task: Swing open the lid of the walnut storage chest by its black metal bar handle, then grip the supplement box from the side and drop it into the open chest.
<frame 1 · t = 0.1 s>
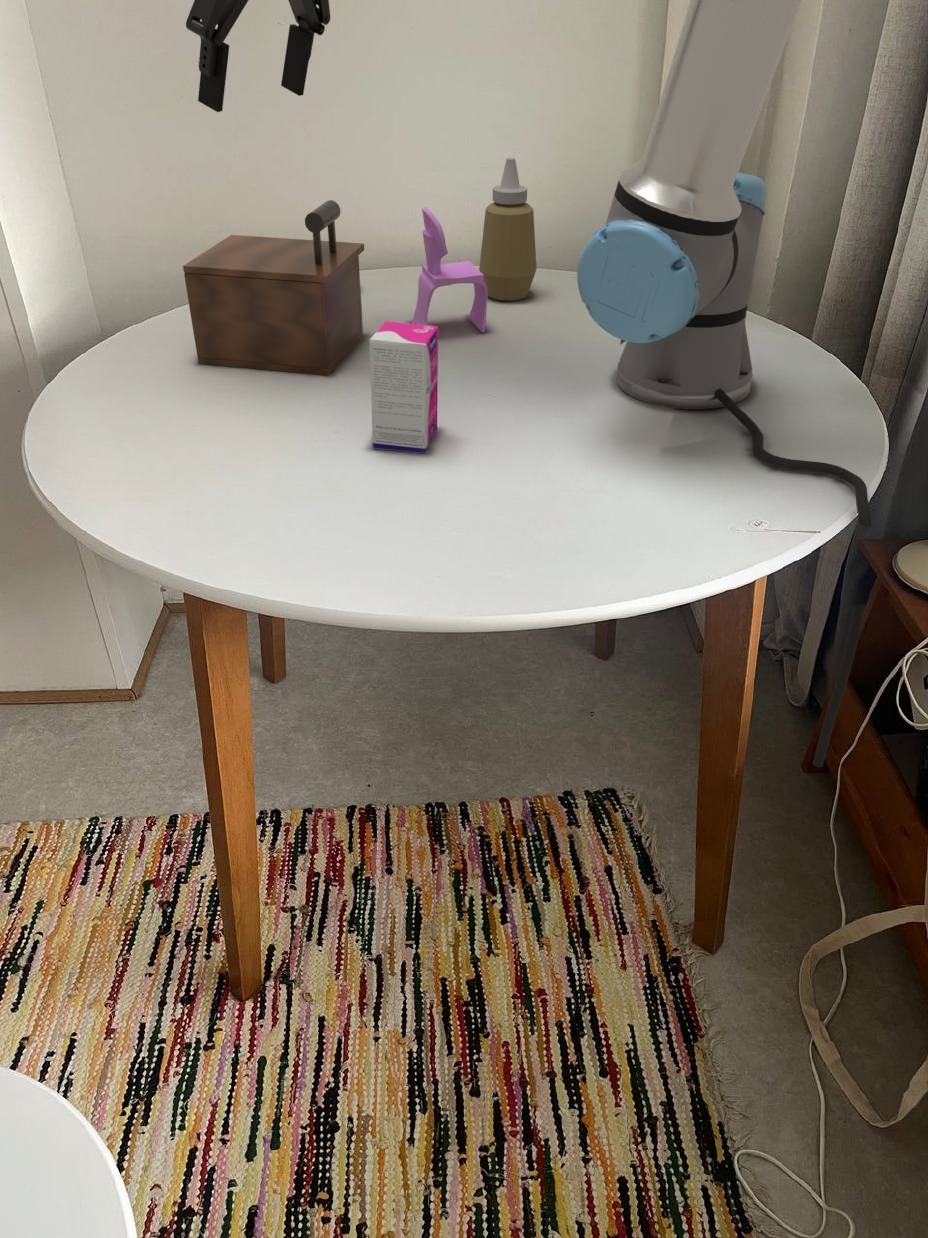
hand: (252, 98, 110), 28 cm above the table, tool tilted 20°, fingers open, 13 cm apart
squeeze bottle: (507, 296, 142), on the table
lid: (274, 232, 116), point 14 cm above the table, hinge at 0.0°
chest: (283, 349, 125), on the table
supplement box: (406, 441, 104), on the table
toy chair: (449, 328, 131), on the table
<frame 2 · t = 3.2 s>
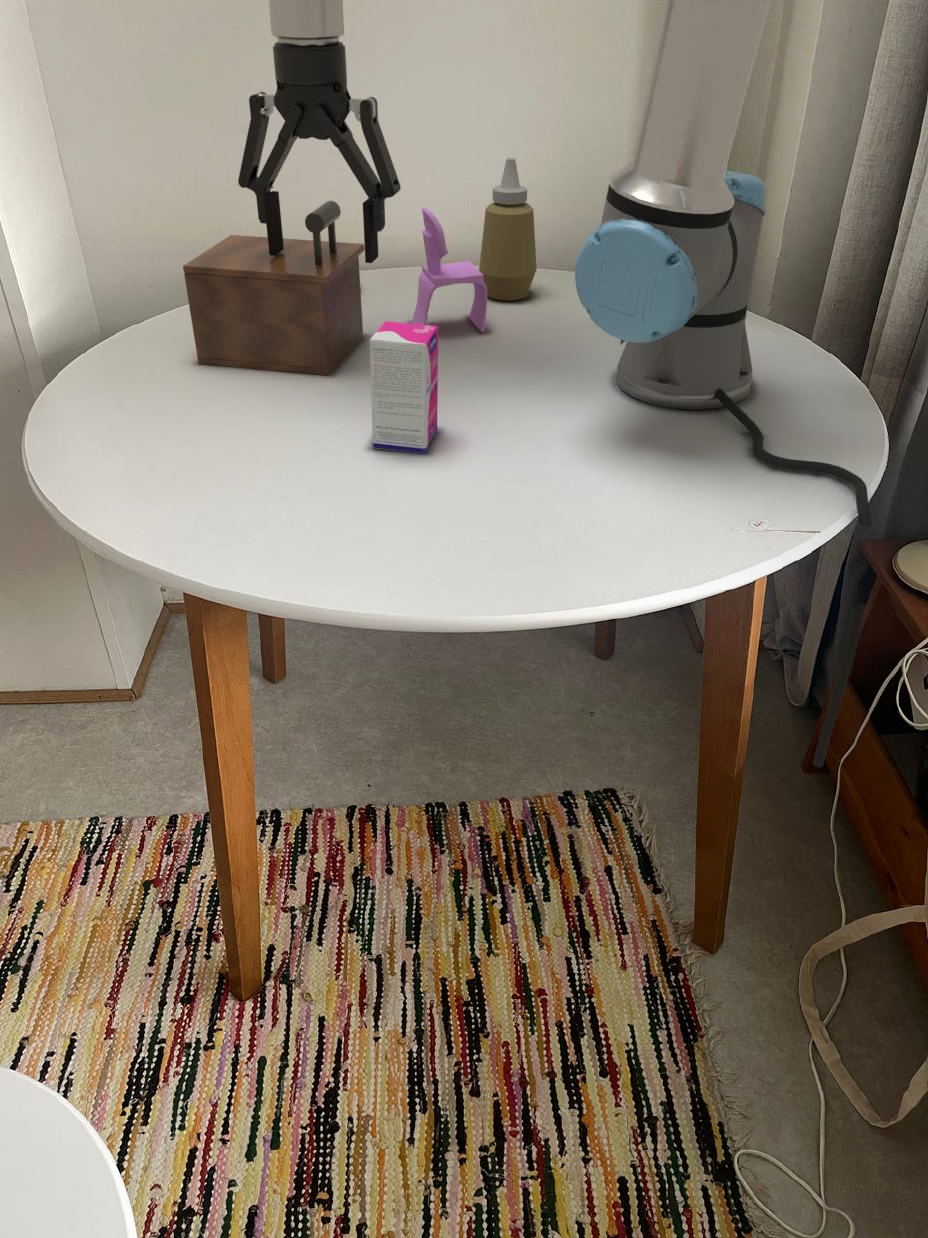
hand: (324, 255, 117), 12 cm above the table, tool pointing down, fingers open, 11 cm apart
lid: (274, 232, 116), point 14 cm above the table, hinge at -0.2°, touching chest, gripper
everything else where it was.
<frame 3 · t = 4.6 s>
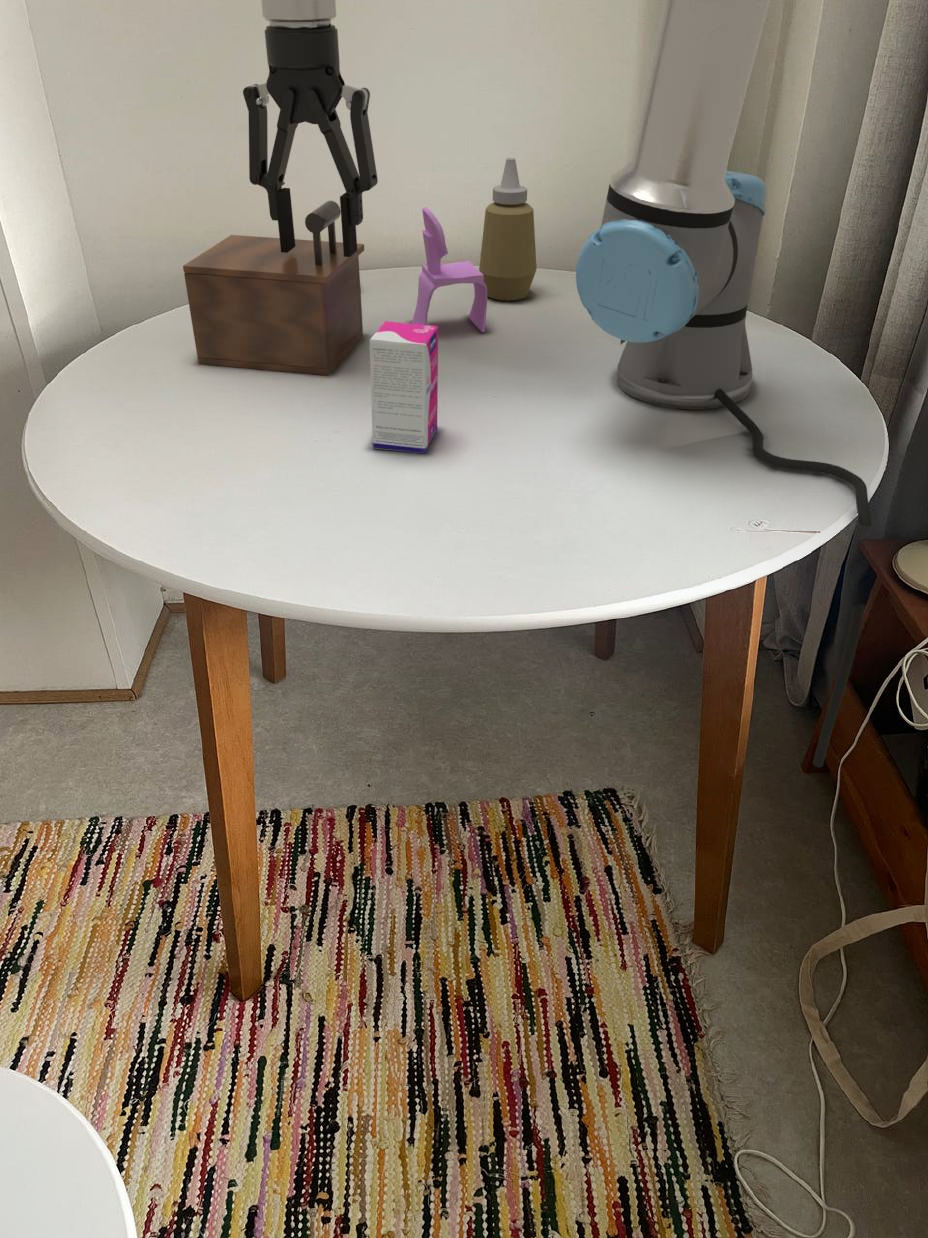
hand: (319, 251, 116), 12 cm above the table, tool pointing down, fingers open, 7 cm apart
lid: (274, 232, 116), point 14 cm above the table, hinge at -0.2°, touching chest
everything else where it was.
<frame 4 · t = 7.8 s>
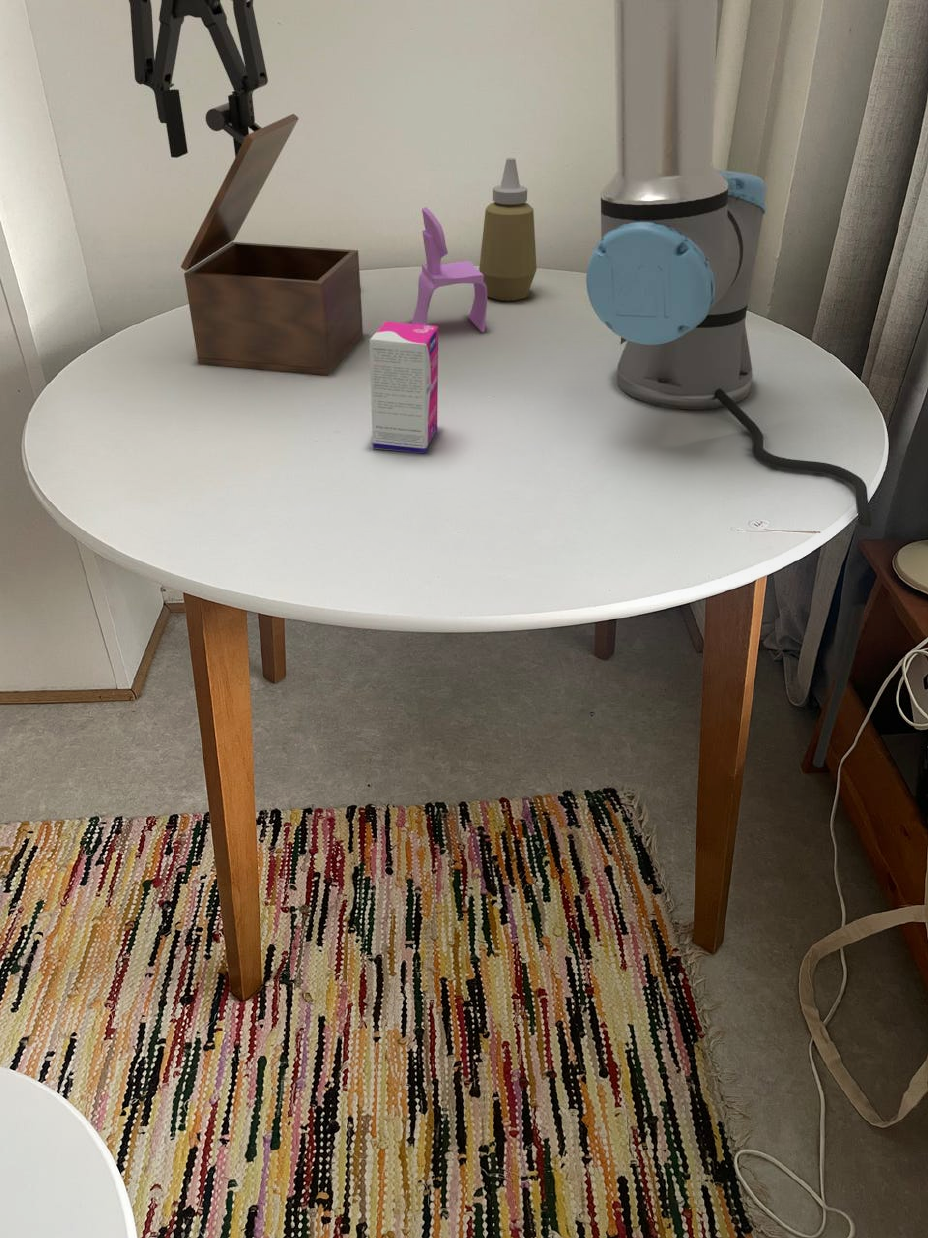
hand: (211, 156, 113), 22 cm above the table, tool pointing down, fingers open, 7 cm apart
lid: (219, 175, 114), point 20 cm above the table, hinge at 54.8°, touching gripper
everything else where it was.
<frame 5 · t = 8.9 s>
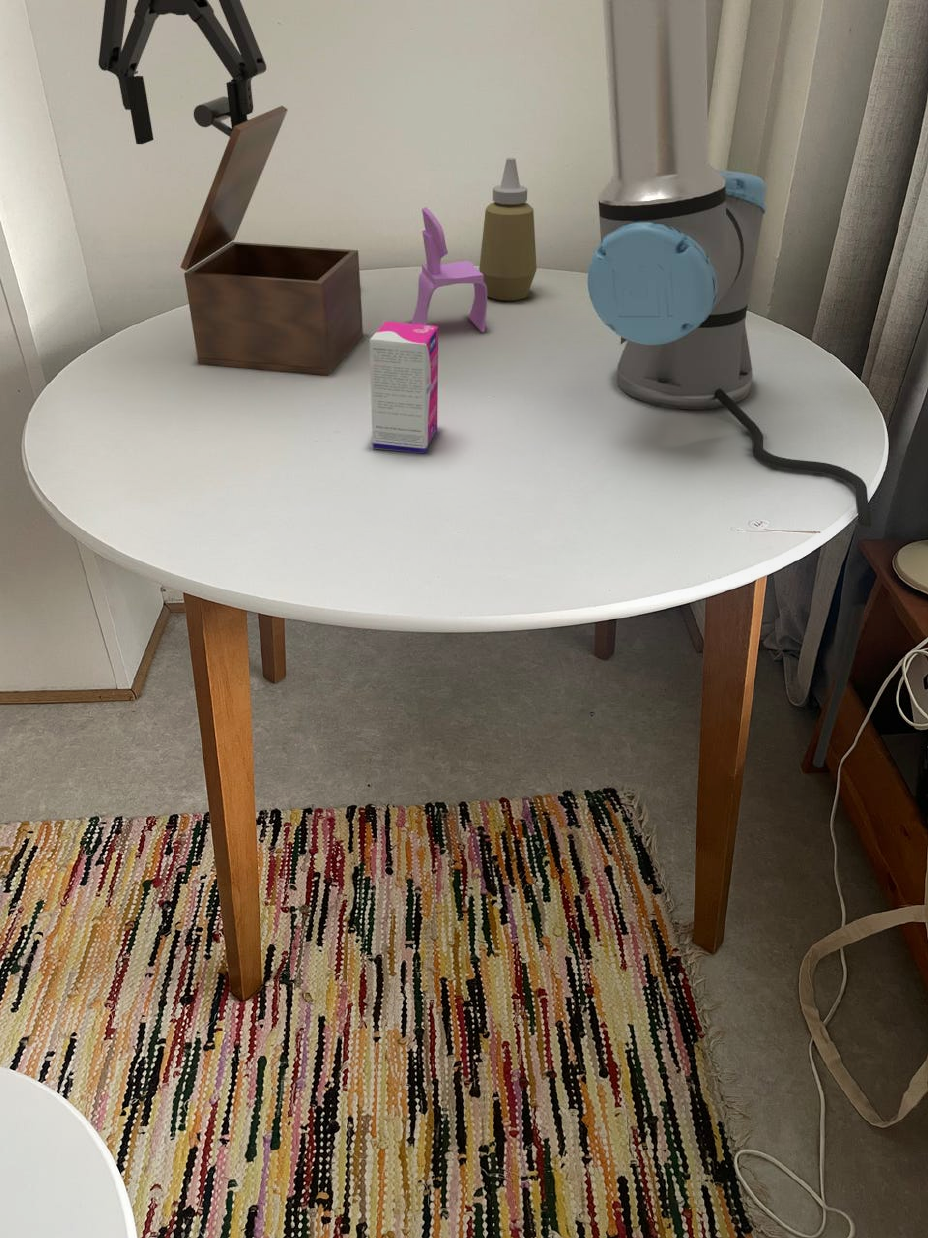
hand: (193, 144, 113), 23 cm above the table, tool pointing down, fingers open, 11 cm apart
lid: (212, 173, 114), point 20 cm above the table, hinge at 59.7°
everything else where it was.
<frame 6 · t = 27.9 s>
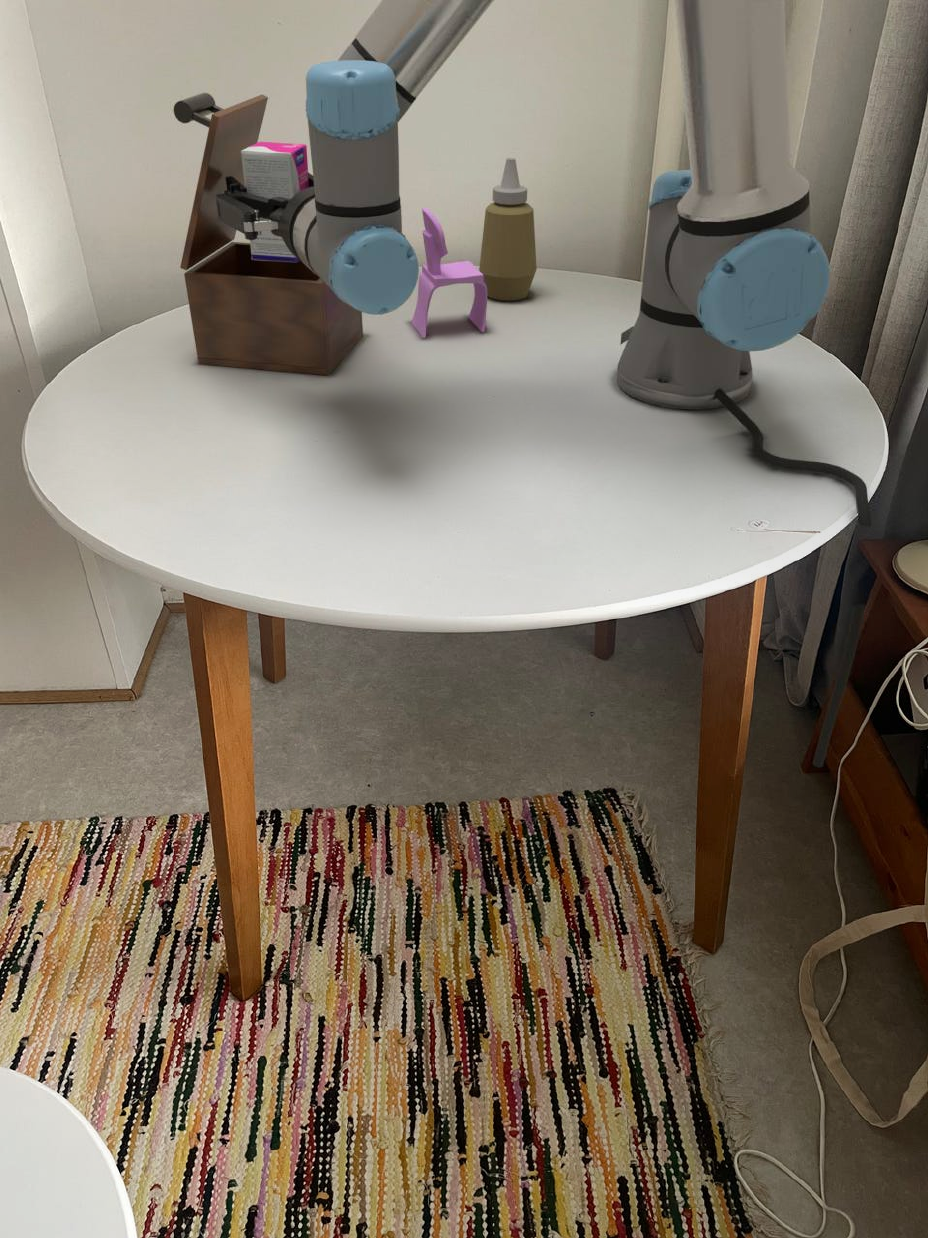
hand: (266, 185, 115), 19 cm above the table, tool horizontal, fingers closed on supplement box, 8 cm apart
lid: (201, 171, 114), point 20 cm above the table, hinge at 68.2°, touching gripper
supplement box: (284, 256, 115), point 12 cm above the table, touching gripper
everything else where it was.
when the fingers open (15 cm above the table, at t = 30.3 s): supplement box drops 7 cm, resting on chest.
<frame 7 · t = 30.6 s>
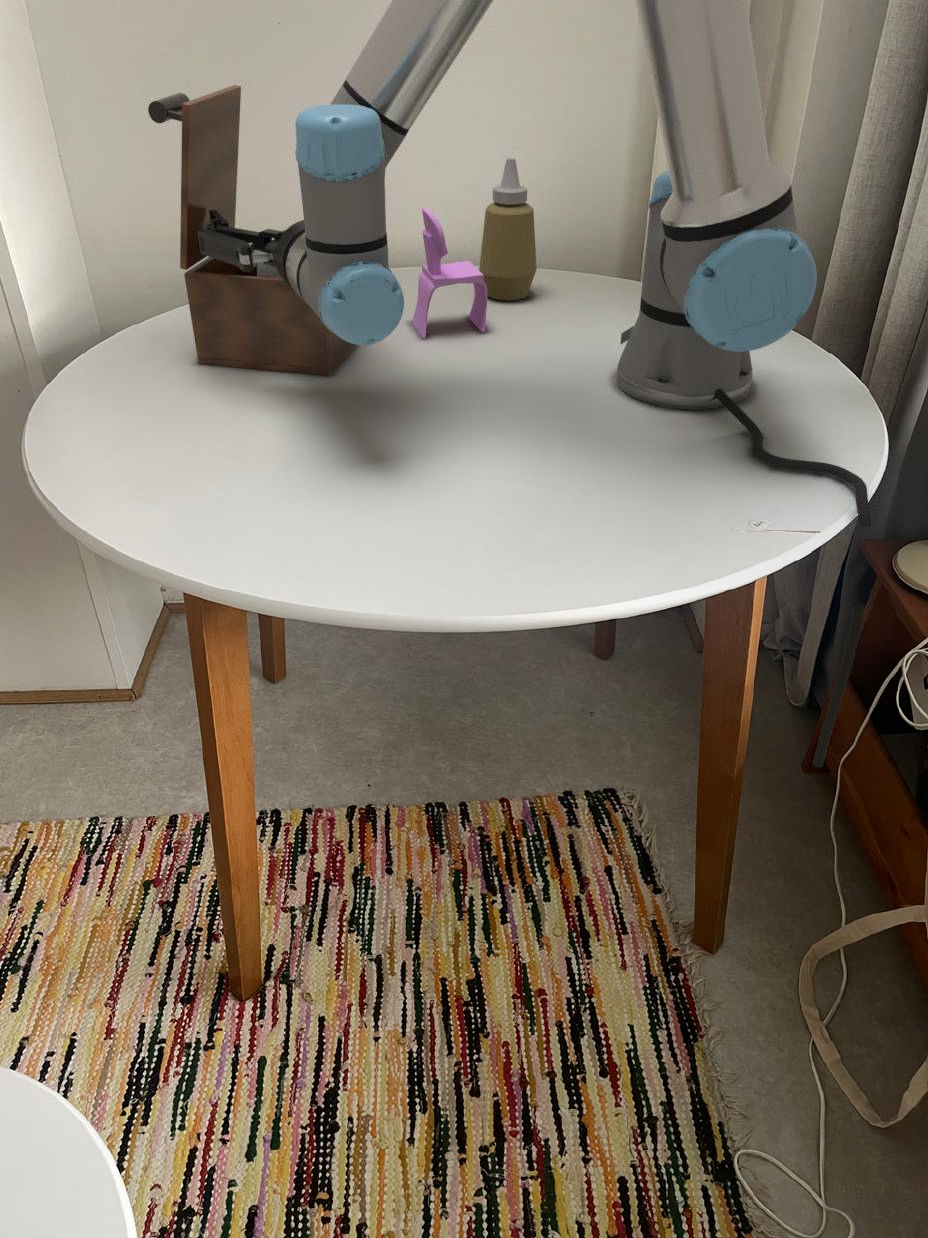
hand: (266, 216, 118), 15 cm above the table, tool horizontal, fingers open, 12 cm apart
lid: (187, 170, 115), point 20 cm above the table, hinge at 79.2°, touching gripper
supplement box: (286, 344, 124), point 1 cm above the table, touching chest
everything else where it was.
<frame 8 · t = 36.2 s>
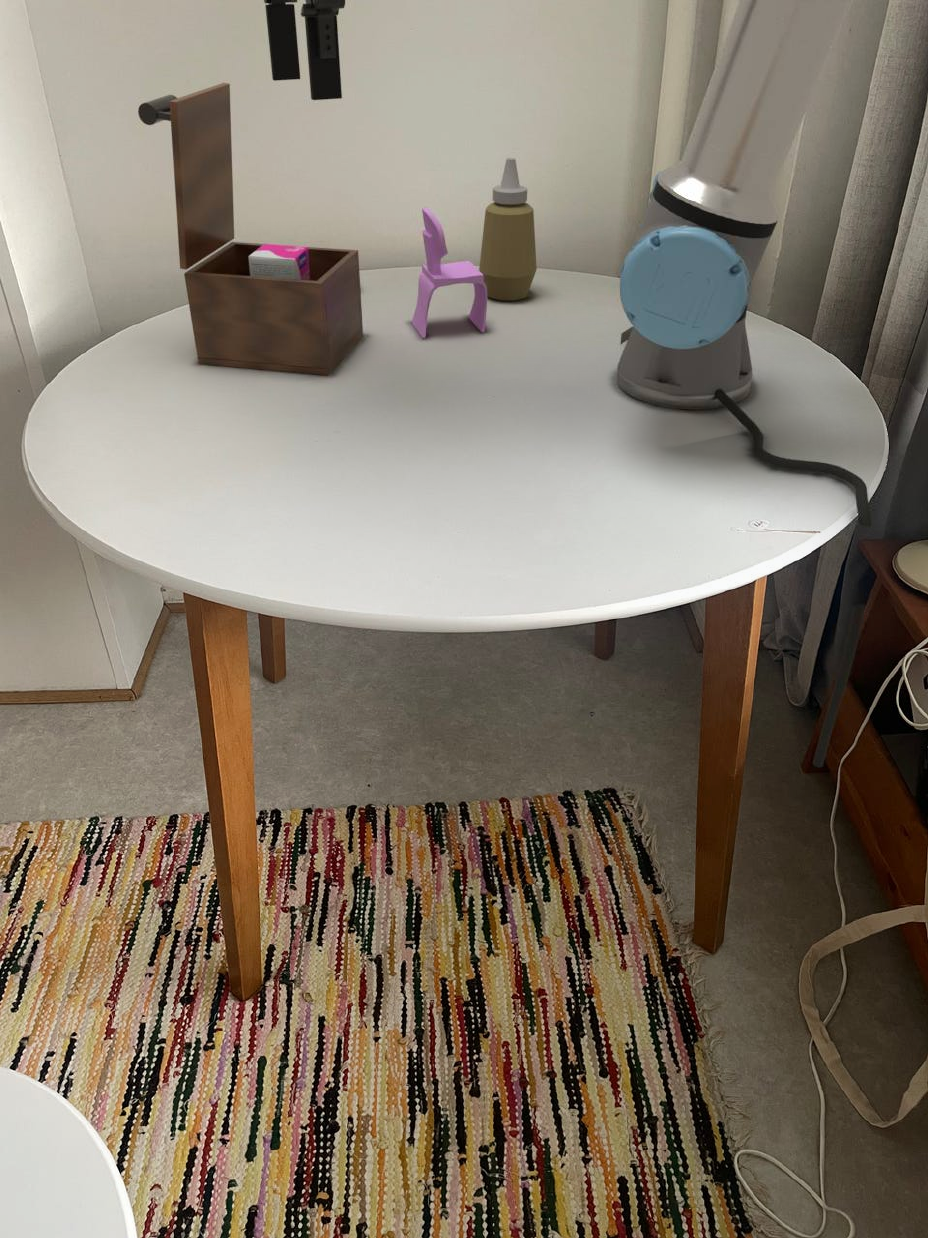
hand: (305, 88, 96), 31 cm above the table, tool pointing down, fingers open, 13 cm apart
lid: (181, 171, 115), point 20 cm above the table, hinge at 83.8°
at the end: lid at +84° (first picture: +0°); supplement box inside the target area in the chest (1.0 cm from its centre), point 0.6 cm above the chest's base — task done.
